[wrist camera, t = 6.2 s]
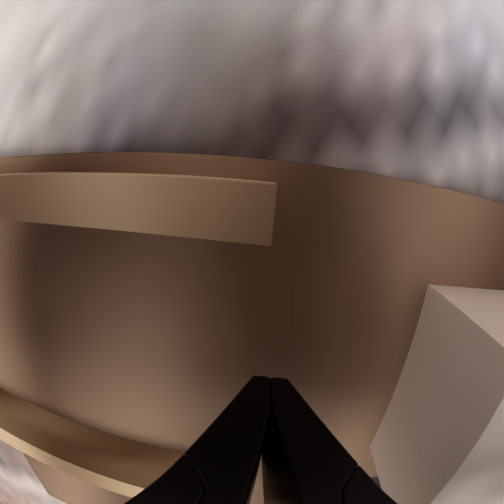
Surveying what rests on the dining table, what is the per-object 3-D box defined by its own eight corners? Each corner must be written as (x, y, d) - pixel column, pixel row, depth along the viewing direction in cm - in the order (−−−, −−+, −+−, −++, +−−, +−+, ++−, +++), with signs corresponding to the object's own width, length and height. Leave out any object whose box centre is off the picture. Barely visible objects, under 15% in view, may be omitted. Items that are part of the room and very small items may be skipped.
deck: (570, 227, 8) (622, 245, 5) (434, 508, 13) (447, 544, 10) (-10, 161, 9) (-73, 166, 6) (60, 475, 14) (39, 509, 10)
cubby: (275, 182, 7) (277, 185, 5) (240, 475, 9) (235, 518, 7) (-44, 177, 7) (-83, 182, 5) (-2, 400, 10) (-25, 422, 8)
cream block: (552, 293, 7) (624, 339, 3) (493, 427, 9) (533, 489, 5) (428, 284, 7) (520, 362, 3) (369, 446, 9) (394, 539, 5)
